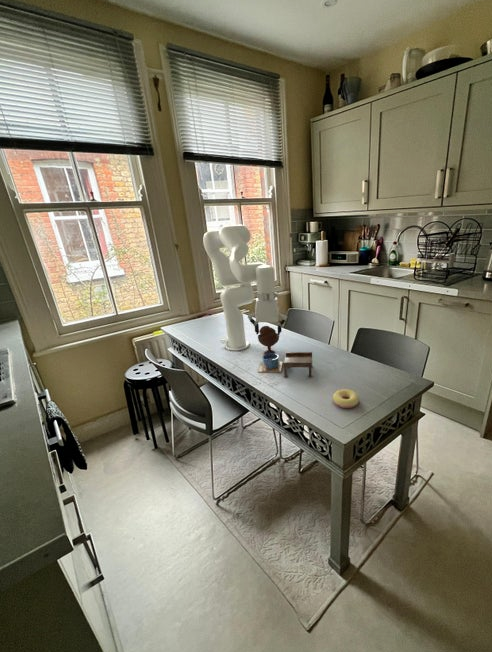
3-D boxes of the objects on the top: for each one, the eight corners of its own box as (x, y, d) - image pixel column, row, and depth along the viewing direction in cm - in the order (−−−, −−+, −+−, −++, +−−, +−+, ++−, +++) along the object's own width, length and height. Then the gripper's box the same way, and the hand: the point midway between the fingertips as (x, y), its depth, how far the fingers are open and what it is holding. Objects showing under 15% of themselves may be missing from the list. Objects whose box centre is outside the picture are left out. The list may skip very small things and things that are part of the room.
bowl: (262, 370, 143) (261, 360, 141) (264, 362, 150) (263, 353, 148) (278, 370, 143) (277, 360, 141) (279, 362, 149) (279, 353, 147)
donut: (357, 401, 121) (333, 395, 123) (360, 390, 120) (336, 385, 122) (356, 412, 112) (330, 406, 114) (359, 401, 111) (332, 394, 113)
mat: (258, 372, 143) (258, 371, 142) (262, 362, 152) (262, 361, 151) (280, 372, 142) (280, 371, 141) (282, 362, 151) (282, 361, 150)
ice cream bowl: (278, 358, 156) (276, 329, 149) (256, 357, 158) (253, 328, 152) (282, 349, 165) (280, 322, 159) (261, 348, 167) (259, 321, 161)
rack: (284, 377, 137) (283, 362, 134) (286, 366, 147) (285, 352, 144) (311, 377, 136) (311, 362, 133) (312, 366, 146) (312, 352, 143)
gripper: (287, 293, 136) (288, 330, 143) (248, 293, 137) (251, 330, 145) (285, 298, 129) (286, 337, 136) (244, 298, 131) (247, 336, 138)
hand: (268, 333), depth 140 cm, fingers open, 9 cm apart
